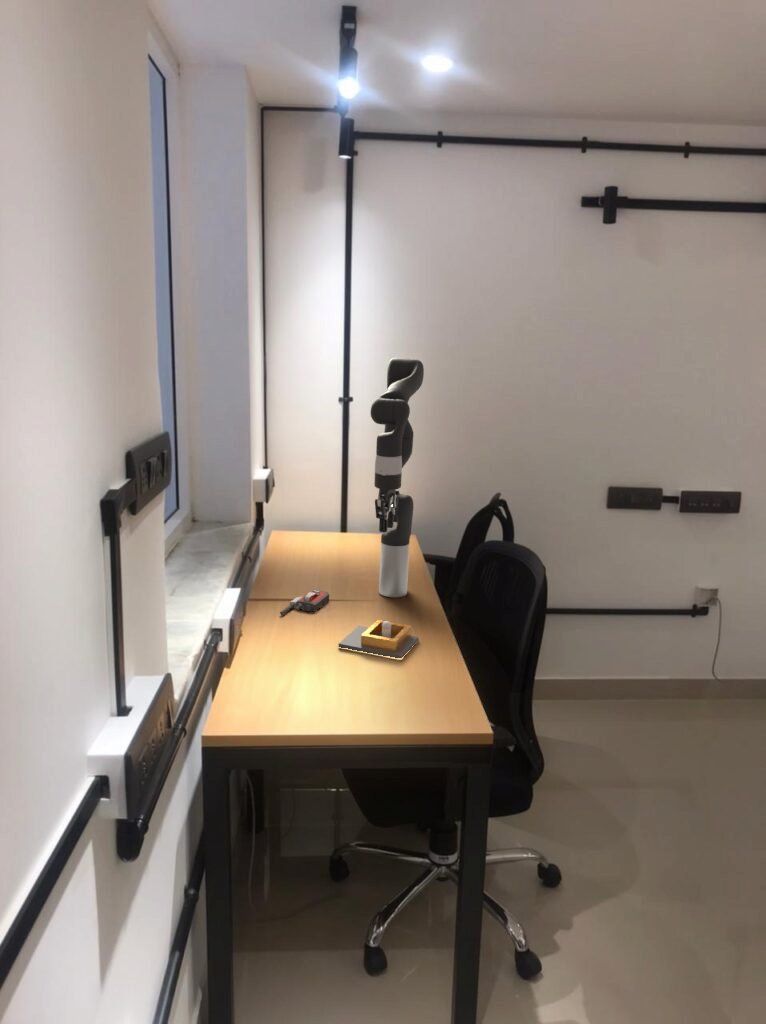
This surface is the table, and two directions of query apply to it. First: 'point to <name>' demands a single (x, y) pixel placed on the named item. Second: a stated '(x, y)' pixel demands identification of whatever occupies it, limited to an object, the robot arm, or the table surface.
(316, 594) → the walkie-talkie
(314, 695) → the table surface
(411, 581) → the table surface
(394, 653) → the plate
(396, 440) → the robot arm
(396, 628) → the link ring
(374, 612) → the table surface
